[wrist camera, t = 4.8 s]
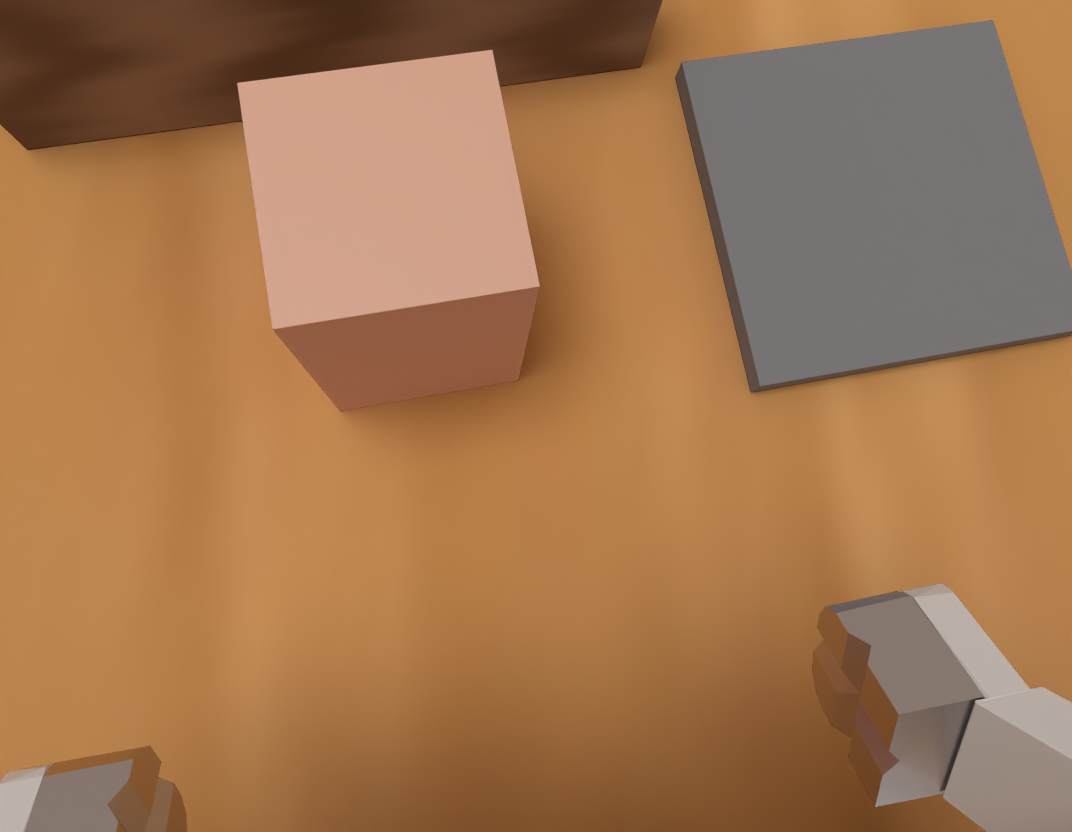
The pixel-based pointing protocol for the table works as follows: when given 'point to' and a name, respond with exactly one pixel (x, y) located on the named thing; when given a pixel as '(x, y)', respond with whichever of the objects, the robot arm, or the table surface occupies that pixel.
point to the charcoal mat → (875, 203)
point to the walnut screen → (270, 52)
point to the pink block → (392, 226)
